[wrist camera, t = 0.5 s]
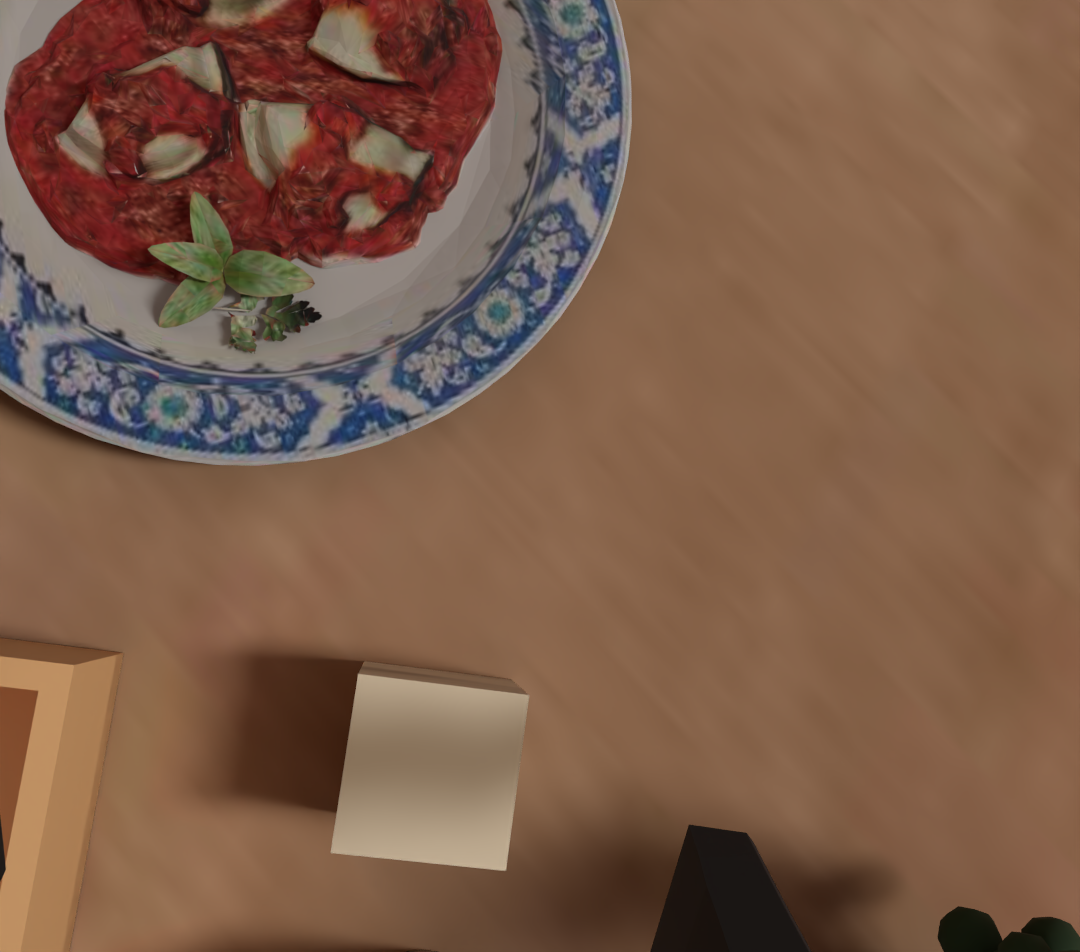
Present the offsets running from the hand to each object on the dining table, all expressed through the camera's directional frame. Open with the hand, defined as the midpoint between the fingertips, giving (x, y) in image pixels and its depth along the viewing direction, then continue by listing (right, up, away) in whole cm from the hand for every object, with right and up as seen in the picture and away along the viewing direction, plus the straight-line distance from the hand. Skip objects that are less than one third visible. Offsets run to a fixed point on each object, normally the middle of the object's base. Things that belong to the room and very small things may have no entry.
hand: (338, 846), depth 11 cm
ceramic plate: (-8, +17, +25) cm, 31 cm away
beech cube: (-2, -5, +23) cm, 24 cm away
